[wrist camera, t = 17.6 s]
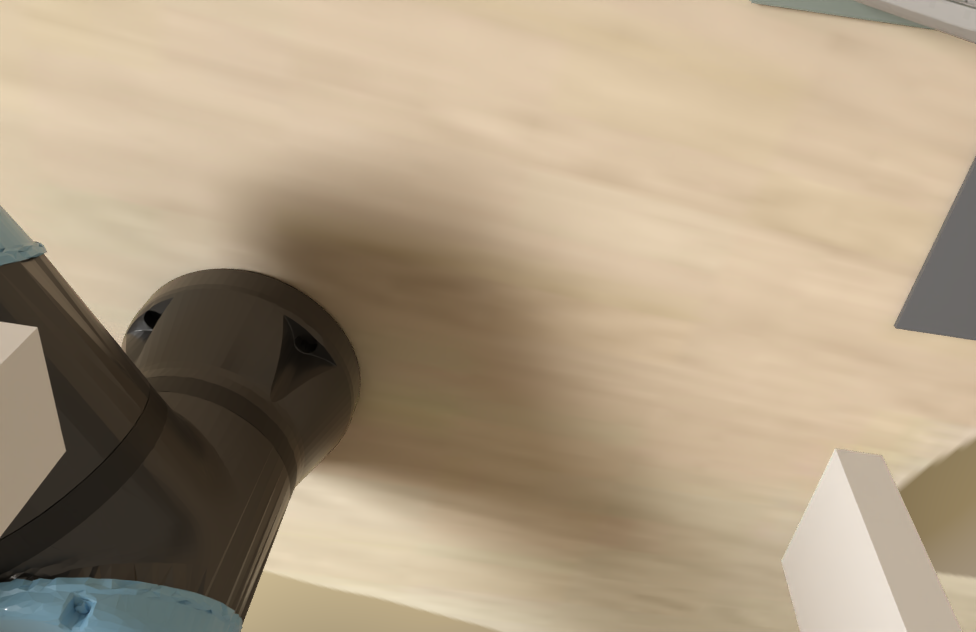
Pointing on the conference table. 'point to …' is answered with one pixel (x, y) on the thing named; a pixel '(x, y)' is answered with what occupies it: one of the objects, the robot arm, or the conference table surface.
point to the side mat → (841, 10)
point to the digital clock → (934, 14)
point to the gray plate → (948, 274)
